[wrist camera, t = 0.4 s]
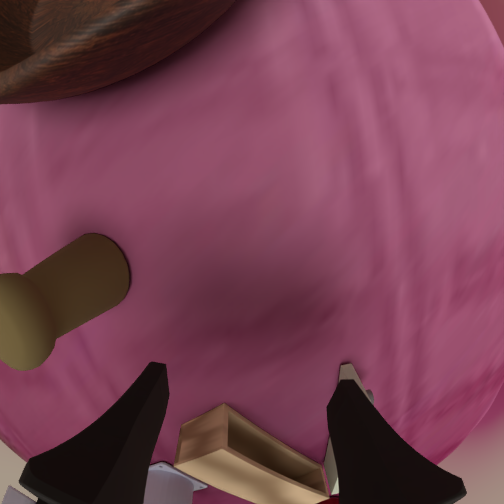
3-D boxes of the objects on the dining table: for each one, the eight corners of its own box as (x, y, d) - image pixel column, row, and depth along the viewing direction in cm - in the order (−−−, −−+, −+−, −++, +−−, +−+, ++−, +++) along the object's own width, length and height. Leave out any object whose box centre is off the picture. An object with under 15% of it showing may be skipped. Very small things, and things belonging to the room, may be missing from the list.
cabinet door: (323, 464, 27) (331, 494, 23) (340, 365, 23) (358, 404, 18) (340, 460, 28) (349, 490, 23) (363, 360, 23) (385, 397, 18)
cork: (128, 236, 19) (15, 288, 8) (131, 314, 20) (50, 404, 9) (65, 230, 19) (-44, 268, 8) (71, 301, 20) (-17, 366, 10)
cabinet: (283, 481, 29) (287, 513, 24) (181, 424, 25) (173, 466, 19) (321, 465, 28) (329, 498, 23) (224, 402, 24) (222, 448, 18)
